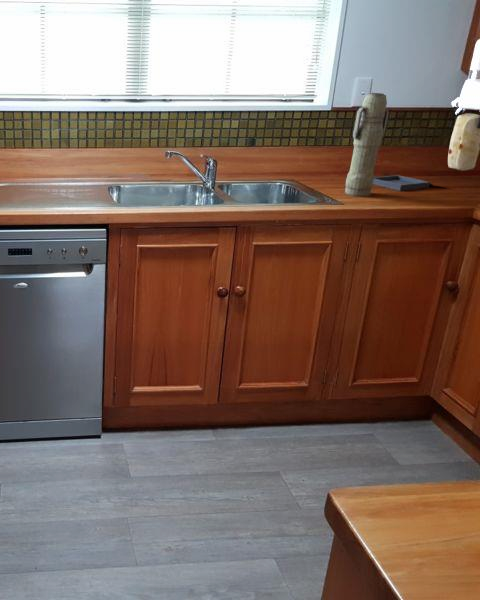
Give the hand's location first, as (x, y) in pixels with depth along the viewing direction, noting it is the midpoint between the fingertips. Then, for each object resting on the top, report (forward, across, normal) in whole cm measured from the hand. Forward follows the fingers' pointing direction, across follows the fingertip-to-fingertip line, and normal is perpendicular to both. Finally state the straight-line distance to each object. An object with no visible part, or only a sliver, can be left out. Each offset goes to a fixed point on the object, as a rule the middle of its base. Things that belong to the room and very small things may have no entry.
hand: (468, 126), depth 222 cm
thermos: (+23, +8, +41) cm, 48 cm away
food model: (+16, 0, 0) cm, 16 cm away
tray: (+23, +14, +14) cm, 30 cm away
